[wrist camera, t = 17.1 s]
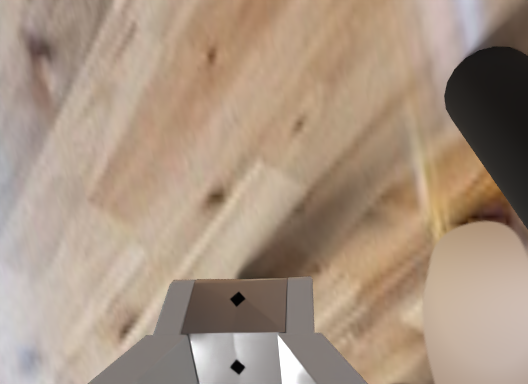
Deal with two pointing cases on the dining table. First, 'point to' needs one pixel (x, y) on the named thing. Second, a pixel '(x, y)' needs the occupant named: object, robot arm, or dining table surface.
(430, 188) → the dining table surface
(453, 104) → the wine bottle
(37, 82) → the dining table surface
